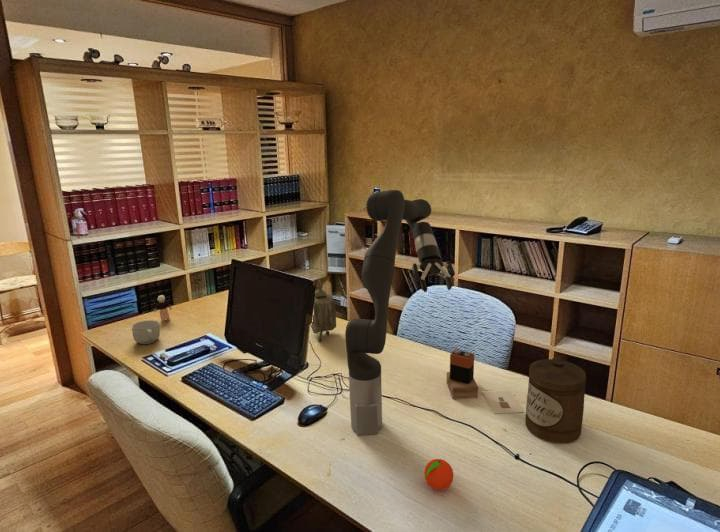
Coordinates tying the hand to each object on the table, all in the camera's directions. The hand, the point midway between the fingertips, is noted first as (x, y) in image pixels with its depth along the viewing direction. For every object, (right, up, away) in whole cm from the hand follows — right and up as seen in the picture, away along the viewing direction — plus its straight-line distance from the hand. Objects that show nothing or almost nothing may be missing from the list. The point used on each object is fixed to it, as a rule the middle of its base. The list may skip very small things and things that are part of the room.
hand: (438, 290), depth 160 cm
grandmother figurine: (-119, -18, +63) cm, 135 cm away
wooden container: (+29, -38, -25) cm, 54 cm away
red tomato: (-8, -46, -46) cm, 65 cm away
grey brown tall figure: (-42, -22, +41) cm, 63 cm away
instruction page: (+18, -35, -12) cm, 41 cm away
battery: (+7, -29, -5) cm, 30 cm away
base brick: (+7, -33, -5) cm, 34 cm away
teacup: (-116, -25, +40) cm, 125 cm away
